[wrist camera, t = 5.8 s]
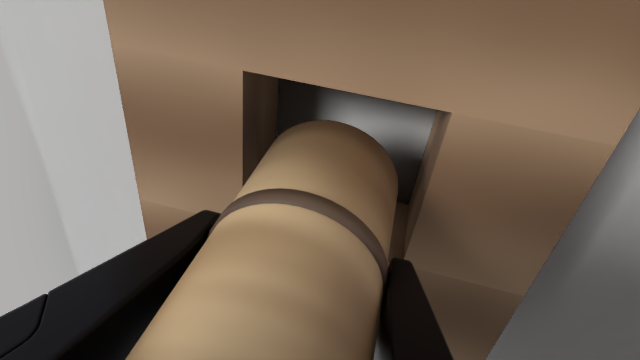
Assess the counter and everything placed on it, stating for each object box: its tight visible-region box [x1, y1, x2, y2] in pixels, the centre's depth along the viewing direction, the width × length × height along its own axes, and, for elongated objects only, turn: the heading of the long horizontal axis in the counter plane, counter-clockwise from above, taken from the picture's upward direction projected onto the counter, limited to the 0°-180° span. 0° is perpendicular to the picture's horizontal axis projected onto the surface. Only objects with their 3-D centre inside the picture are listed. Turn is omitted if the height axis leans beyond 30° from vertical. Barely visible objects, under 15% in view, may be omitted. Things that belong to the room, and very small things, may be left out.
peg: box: [125, 120, 398, 360], centre depth 8 cm, size 4×4×8 cm
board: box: [103, 0, 640, 360], centre depth 12 cm, size 14×12×3 cm
